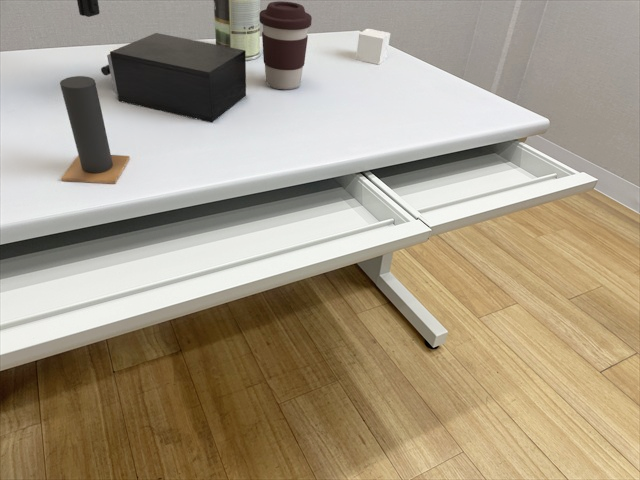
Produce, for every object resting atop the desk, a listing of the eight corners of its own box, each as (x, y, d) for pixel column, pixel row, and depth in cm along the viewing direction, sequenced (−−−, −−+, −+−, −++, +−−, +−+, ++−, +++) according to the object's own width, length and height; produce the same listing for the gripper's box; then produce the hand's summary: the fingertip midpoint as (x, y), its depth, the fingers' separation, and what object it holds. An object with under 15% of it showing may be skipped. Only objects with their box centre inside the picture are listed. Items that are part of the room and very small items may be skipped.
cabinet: (118, 100, 85) (109, 51, 79) (161, 77, 95) (156, 32, 90) (212, 122, 81) (209, 72, 76) (246, 95, 91) (245, 50, 86)
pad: (61, 181, 63) (60, 177, 63) (80, 155, 69) (80, 152, 69) (115, 184, 64) (114, 180, 64) (130, 158, 69) (129, 155, 69)
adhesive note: (379, 64, 113) (383, 38, 109) (355, 59, 115) (359, 33, 111) (386, 58, 118) (390, 32, 114) (363, 53, 119) (367, 28, 115)
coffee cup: (254, 75, 100) (254, -2, 91) (299, 74, 103) (303, -1, 94) (265, 94, 93) (266, 11, 84) (313, 92, 96) (319, 12, 87)
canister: (77, 172, 64) (54, 86, 57) (87, 158, 68) (67, 74, 60) (107, 174, 65) (88, 88, 57) (116, 160, 68) (99, 77, 60)
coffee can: (208, 57, 107) (204, -12, 98) (225, 44, 115) (222, -21, 106) (252, 64, 106) (252, -6, 97) (265, 51, 114) (266, -15, 105)
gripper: (7, -121, 71) (38, 10, 82) (92, -108, 68) (112, 27, 79) (45, -120, 77) (69, 3, 88) (125, -107, 74) (139, 18, 85)
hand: (89, 14), depth 84 cm, fingers closed
